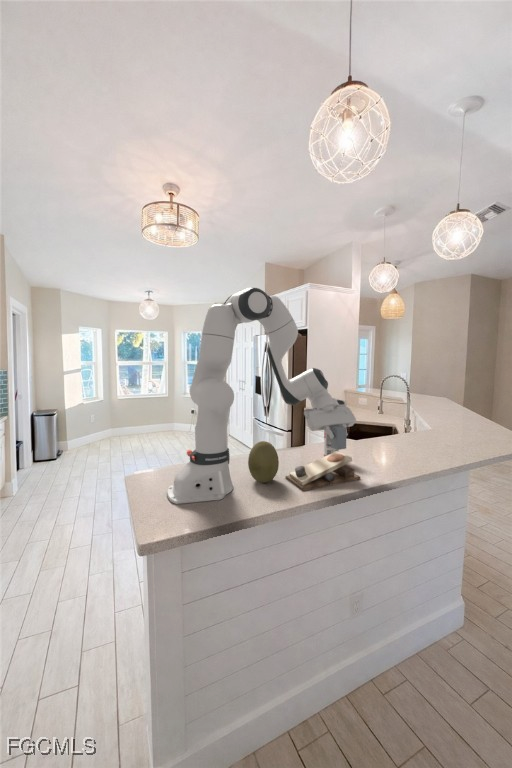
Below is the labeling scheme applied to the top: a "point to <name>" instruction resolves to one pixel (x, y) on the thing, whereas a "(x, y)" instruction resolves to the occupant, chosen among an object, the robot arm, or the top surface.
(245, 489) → the top surface
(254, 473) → the fruit
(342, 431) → the block
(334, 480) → the rocker stand
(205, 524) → the top surface
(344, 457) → the balance board
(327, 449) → the beer can
